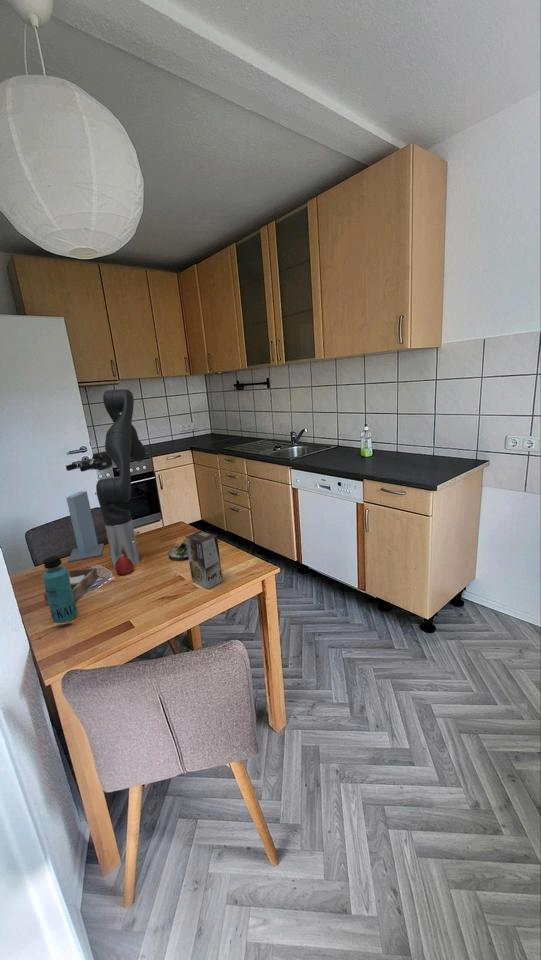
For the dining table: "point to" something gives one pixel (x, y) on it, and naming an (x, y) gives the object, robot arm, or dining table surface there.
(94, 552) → the mat
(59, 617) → the beverage bottle
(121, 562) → the pomegranate
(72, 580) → the offcut
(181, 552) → the burger
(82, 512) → the board
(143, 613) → the dining table surface
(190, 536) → the coffee box
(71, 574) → the rack
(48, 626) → the dining table surface
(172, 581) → the dining table surface
